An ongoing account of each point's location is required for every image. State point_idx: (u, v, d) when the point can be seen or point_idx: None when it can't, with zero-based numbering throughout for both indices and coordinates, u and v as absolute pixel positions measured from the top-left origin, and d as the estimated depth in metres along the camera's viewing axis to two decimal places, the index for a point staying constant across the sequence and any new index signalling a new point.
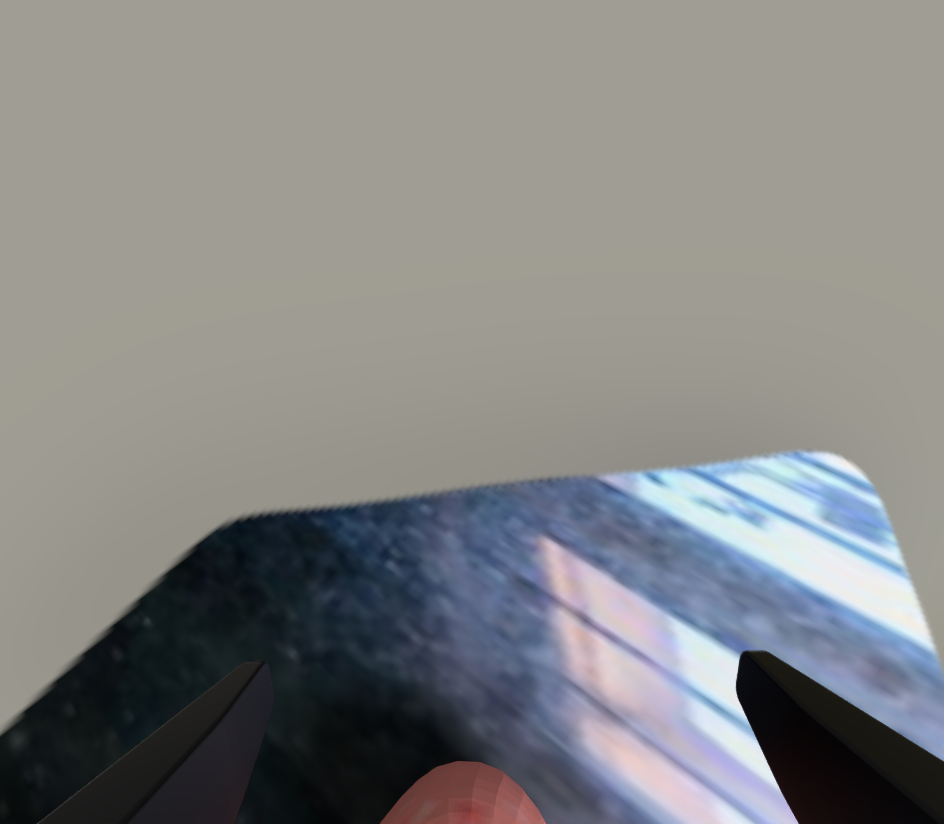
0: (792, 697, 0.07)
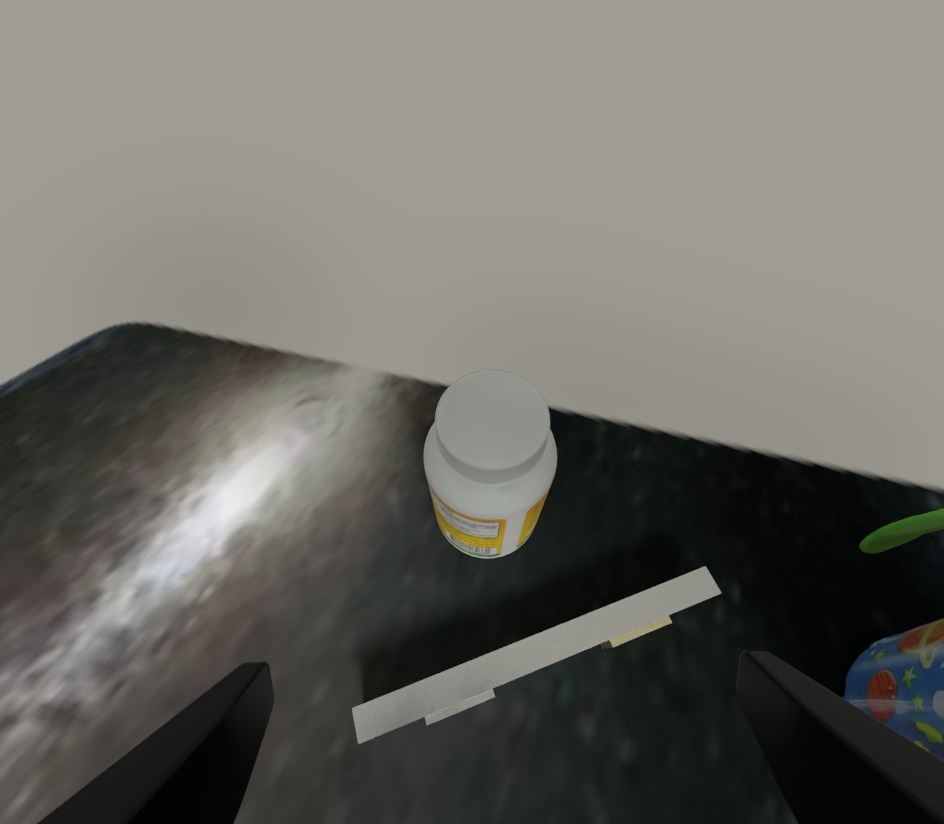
0: (792, 697, 0.07)
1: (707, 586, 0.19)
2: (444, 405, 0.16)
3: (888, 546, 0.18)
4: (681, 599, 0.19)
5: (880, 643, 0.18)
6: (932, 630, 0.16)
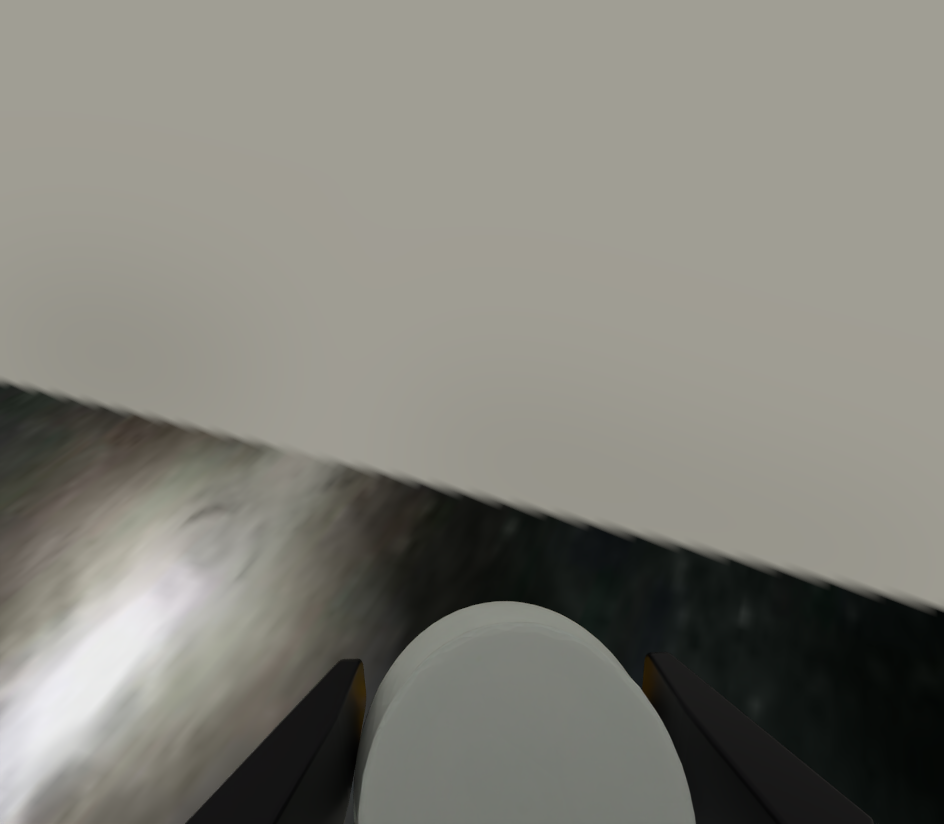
0: (679, 700, 0.07)
1: None
2: (387, 762, 0.05)
3: None
4: None
5: None
6: None
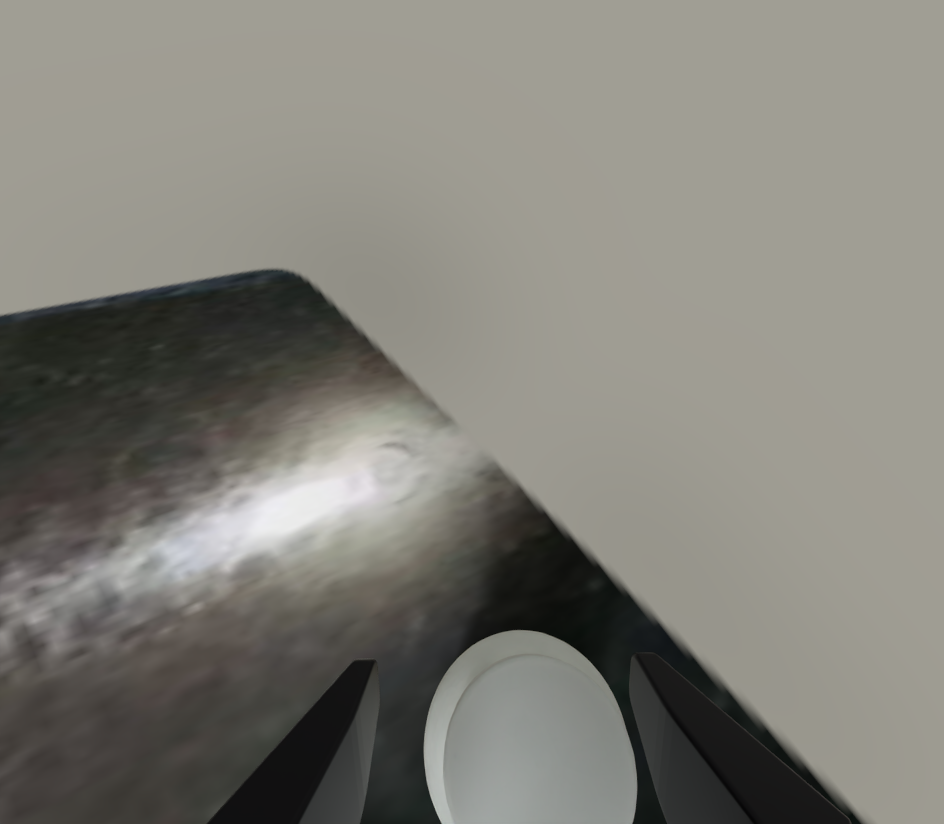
0: (663, 700, 0.07)
1: None
2: (481, 693, 0.10)
3: None
4: None
5: None
6: None
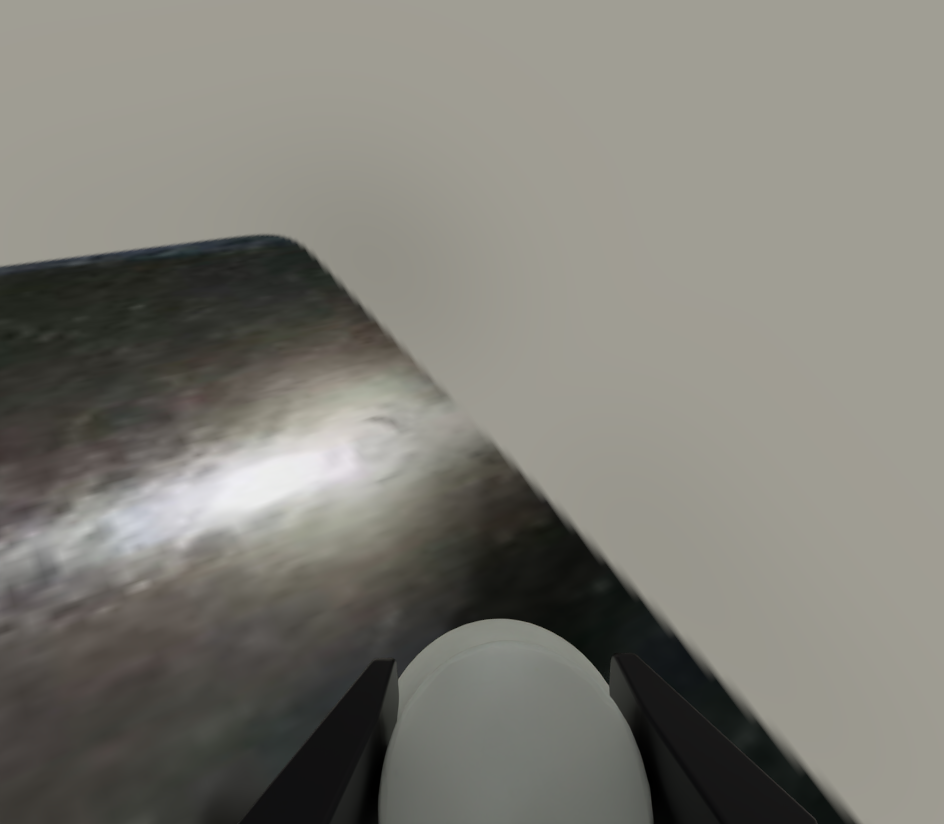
0: (639, 701, 0.07)
1: None
2: (440, 688, 0.07)
3: None
4: None
5: None
6: None
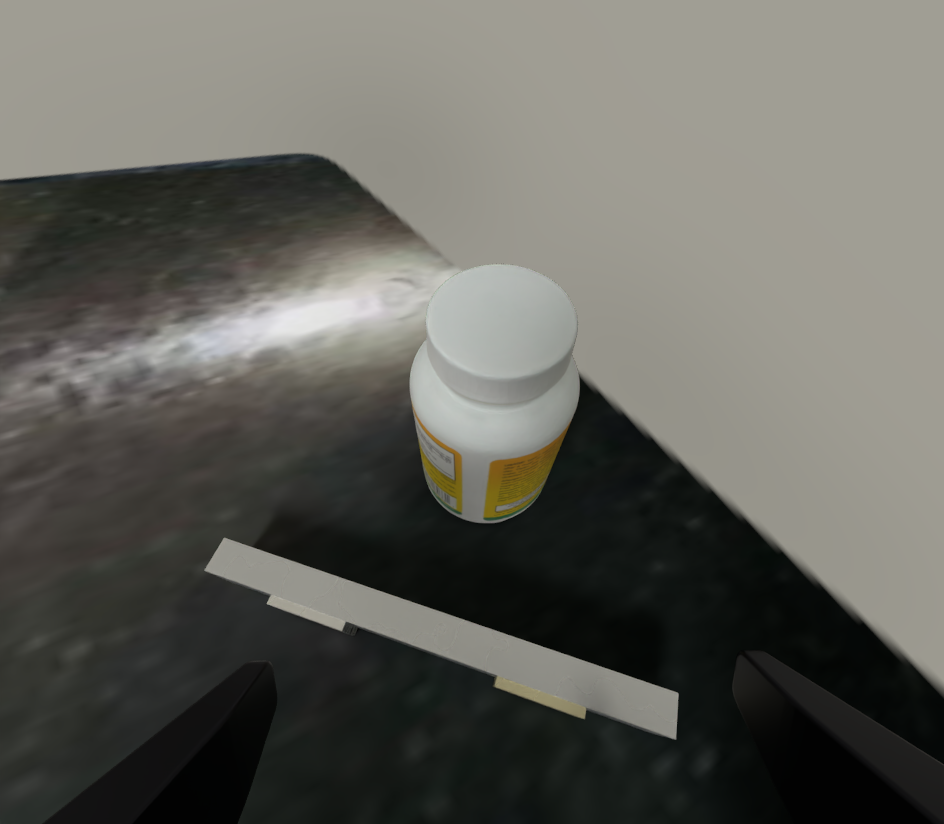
0: (788, 697, 0.07)
1: (662, 717, 0.13)
2: (459, 279, 0.12)
3: None
4: (616, 704, 0.13)
5: None
6: None
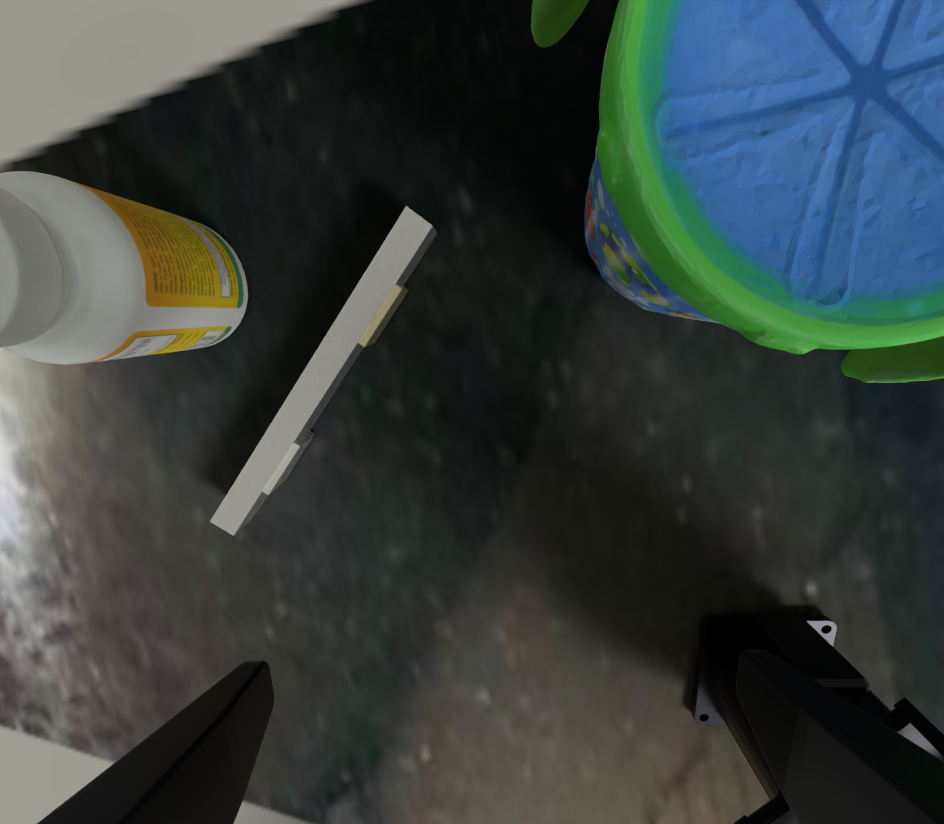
0: (792, 697, 0.07)
1: (416, 228, 0.17)
2: None
3: (566, 19, 0.14)
4: (399, 260, 0.17)
5: None
6: None
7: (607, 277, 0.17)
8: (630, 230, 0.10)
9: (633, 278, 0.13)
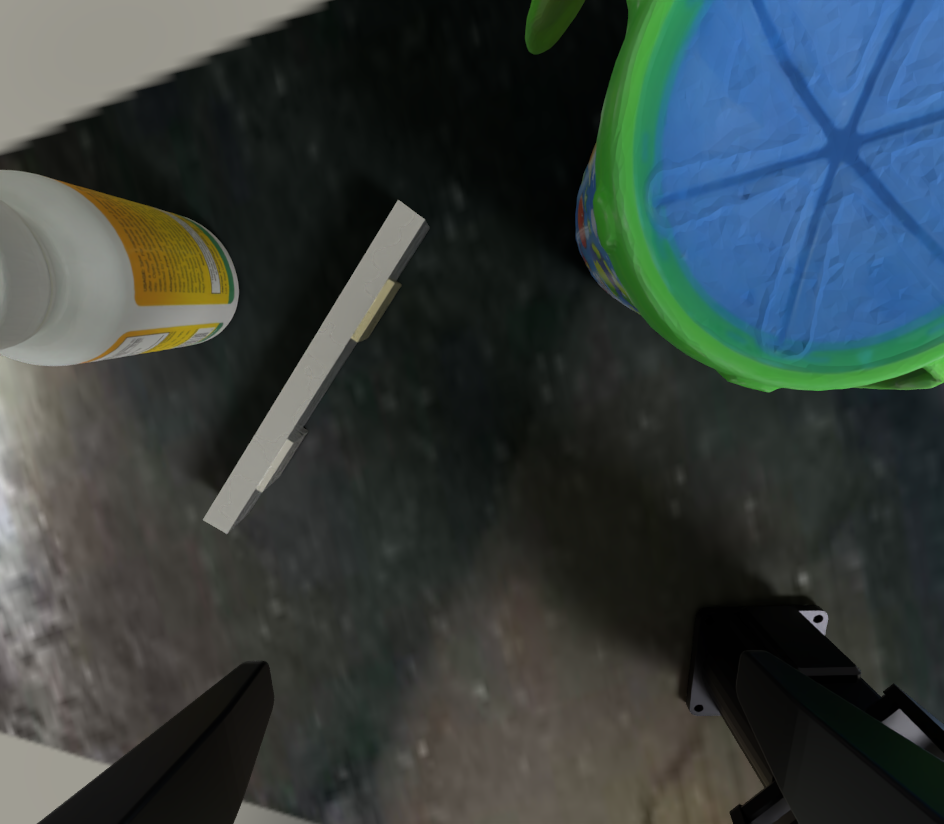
0: (792, 697, 0.07)
1: (409, 222, 0.17)
2: None
3: (560, 26, 0.13)
4: (391, 254, 0.17)
5: None
6: None
7: (597, 280, 0.17)
8: (622, 282, 0.10)
9: (622, 297, 0.14)
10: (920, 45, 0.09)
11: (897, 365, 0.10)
